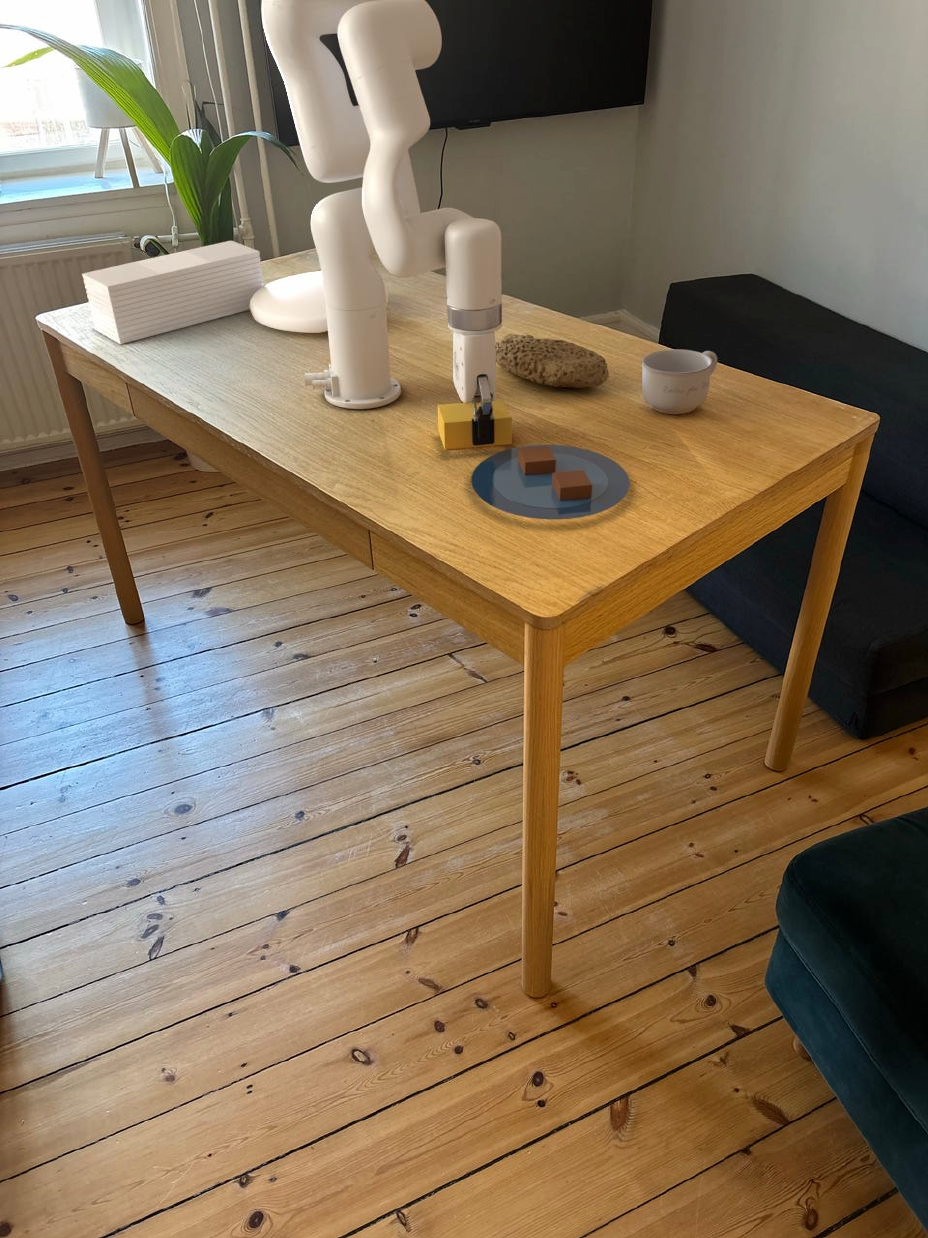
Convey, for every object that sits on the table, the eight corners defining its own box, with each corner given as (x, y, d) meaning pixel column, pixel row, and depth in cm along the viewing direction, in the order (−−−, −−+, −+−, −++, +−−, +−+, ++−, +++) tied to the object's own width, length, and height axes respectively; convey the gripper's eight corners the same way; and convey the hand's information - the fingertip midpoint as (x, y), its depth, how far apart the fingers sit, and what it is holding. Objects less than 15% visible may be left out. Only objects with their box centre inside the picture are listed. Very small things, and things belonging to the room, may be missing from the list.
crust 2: (559, 500, 131) (560, 487, 130) (551, 485, 135) (552, 472, 133) (591, 498, 132) (592, 484, 130) (582, 482, 135) (583, 469, 134)
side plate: (486, 535, 127) (486, 526, 126) (459, 458, 144) (458, 450, 143) (650, 519, 129) (651, 510, 129) (604, 446, 147) (605, 438, 146)
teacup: (661, 425, 152) (667, 376, 148) (625, 400, 160) (629, 352, 156) (736, 410, 157) (743, 361, 152) (696, 385, 165) (703, 339, 160)
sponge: (485, 378, 171) (554, 393, 156) (487, 332, 169) (558, 342, 153) (546, 376, 178) (618, 390, 162) (548, 331, 175) (622, 341, 160)
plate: (319, 324, 177) (217, 298, 190) (325, 358, 181) (225, 330, 194) (414, 269, 193) (315, 248, 206) (418, 300, 198) (320, 279, 211)
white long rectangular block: (238, 293, 207) (231, 240, 201) (266, 305, 201) (259, 250, 194) (95, 329, 190) (81, 273, 184) (120, 344, 184) (107, 286, 177)
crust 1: (524, 475, 137) (525, 462, 136) (518, 461, 141) (518, 448, 139) (555, 472, 138) (556, 459, 136) (548, 458, 141) (548, 445, 140)
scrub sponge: (444, 457, 144) (443, 422, 141) (438, 438, 150) (437, 404, 146) (511, 451, 146) (512, 417, 143) (503, 432, 151) (503, 399, 148)
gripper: (439, 298, 143) (443, 410, 152) (457, 338, 129) (461, 457, 138) (489, 294, 143) (491, 405, 153) (514, 333, 129) (514, 452, 139)
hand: (477, 430), depth 146 cm, fingers open, 9 cm apart
